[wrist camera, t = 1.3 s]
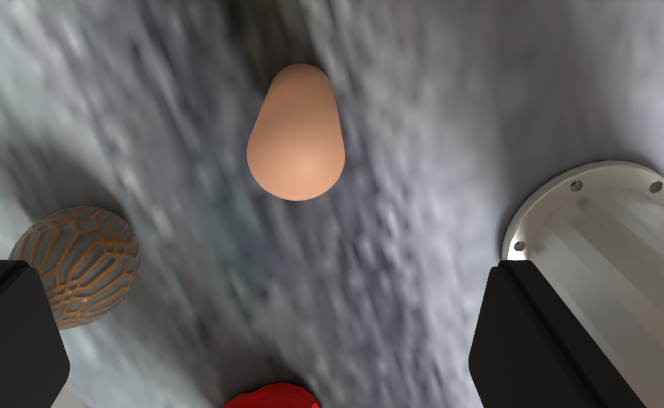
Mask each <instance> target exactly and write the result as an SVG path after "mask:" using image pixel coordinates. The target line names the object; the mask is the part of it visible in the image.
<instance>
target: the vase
mask: <svg viewBox="0 0 664 408" xmlns="http://www.w3.org/2000/svg"><path fill="white" fill-rule="evenodd" d="M8 260H23V261H26V262H27V263H28V264H29V265H30V267H33V268H35V269H36V270H37V271H38V273H39V275H40V278H41V281H42V284H43V287H44V290H45V293H46V296H47V298H48V301H49V304H50V307H51V310H52V313H53V316H54V319H55V322H56V324H57V327H58V330H64V329H69V328H74V327H78V326H82V325H86V324H88V323H91V322H93V321H95V320H97V319H99V318H101V317H102V316H104V315H105V314H107V313H108V312H109V311H111V310H112V309H113V308H114V307H115V306H116V305H118V304H119V303H120V302H121V300H122V299H123V298H124V297H125V296H126V294H127V293H128V291H129V290H130V288H131V286H132V284H133V282H134V280H135V278H136V276H137V273H138V269H139V264H140V248H139V243H138V240H137V237H136V235H135V233H134V232H133V230H132V229H131V227H130V226H129V225H128V224H127V223H126V222H125V221H124V220H123V219H122V218H121V217H119V216H118V215H116V214H114V213H112V212H110V211H108V210H105V209H102V208H98V207H93V206H76V207H70V208H65V209H62V210H59V211H56V212H54V213H52V214H50V215H47V216H46V217H44V218H42V219H41V220H40V221H38V222H37V223H35V224H34V225H33V226H32V227H31V228H29V229H28V230H27V231H26V232H25V233H24V234H23V235H22V236H21V238H20V239H19V240H18V242H17V243H16V244H15V246H14V248H13V250H12V252H11V254H10V256H9V258H8Z"/></svg>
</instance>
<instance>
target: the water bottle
mask: <svg viewBox="0 0 664 408" xmlns="http://www.w3.org/2000/svg"><path fill="white" fill-rule="evenodd" d="M223 408H320V406H319V404H318V403H317V401H316V399H315V397H314V396H313V395H311V394H310V393H309V392H307V391H306V390H305V389H303V388H302V387H299V386H295V385H292V384H289V383H277V384H271V385H266V386H264V387H262V388H260V389H258V390H256V391H254V392H250V393H245V394H239V395H238V396H236V397H235V398H233V399H232V400H230V401H229V402H227V403H226V404H224V405H223Z"/></svg>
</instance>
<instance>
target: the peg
mask: <svg viewBox="0 0 664 408" xmlns="http://www.w3.org/2000/svg"><path fill="white" fill-rule="evenodd" d="M247 161H248V165H249V169H250V171H251V173H252V175H253V177H254V178H255V180H256V181H257V182H258V184H259V185H260V186H261V187H262V188H264V189H265V190H266V191H268V192H269V193H271V194H273V195H275V196H277V197H280V198H283V199H287V200H307V199H311V198H314V197H317V196H319V195H321V194H323V193H324V192H326V191H327V190H328V189H330V188H331V187H332V186H333V185H334V184H335V182H336V181H337V180H338V178H339V176H340V175H341V172H342V170H343V166H344V161H345V150H344V144H343V139H342V133H341V128H340V123H339V117H338V112H337V106H336V101H335V96H334V90H333V87H332V84H331V82H330V80H329V78H328V77H327V76H326V74H325V73H324V72H323V71H321V70H320V69H319V68H317V67H315V66H312V65H309V64H304V63H297V64H292V65H289V66H287V67H285V68H283V69H282V70H280V71H279V72H278V73H277V74H276V76H275V77H274V78H273V80H272V82H271V85H270V87H269V90H268V92H267V95H266V97H265V100H264V103H263V105H262V108H261V110H260V113H259V115H258V118H257V121H256V123H255V126H254V128H253V131H252V133H251V136H250V139H249V142H248V146H247Z"/></svg>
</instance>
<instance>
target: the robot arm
mask: <svg viewBox="0 0 664 408" xmlns="http://www.w3.org/2000/svg"><path fill="white" fill-rule="evenodd" d="M469 371H470V374H471V377H472V379H473V382H474V384H475V387H476V389H477V392H478V394H479V397H480V399H481V402H482V404H483V407H484V408H664V177H663V176H661V175H660V174H658V173H657V172H655V171H653V170H651V169H649V168H647V167H645V166H643V165H641V164H637V163H632V162H628V161H601V162H595V163H589V164H586V165H583V166H580V167H577V168H574V169H571V170H569V171H567V172H565V173H563V174H561V175H559V176H557V177H555V178H553V179H552V180H550V181H549V182H547V183H546V184H544V185H543V186H542V187H540V188H539V189H538V190H537V191H536V192H534V193H533V194H532V195H531V196H530V197H529V198H528V199H527V200H526V201H525V202H524V203H523V205H522V206H521V207H520V209H519V210H518V211H517V213H516V214H515V215H514V217H513V219H512V221H511V223H510V225H509V227H508V228H507V231H506V235H505V238H504V241H503V248H502V261H500V262H499V264H498V267H492V268H491V270H490V273H489V277H488V281H487V285H486V289H485V293H484V297H483V301H482V305H481V309H480V313H479V317H478V321H477V326H476V330H475V334H474V338H473V342H472V346H471V350H470V354H469ZM69 372H70V363H69V359H68V356H67V353H66V350H65V348H64V345H63V342H62V339H61V336H60V333H59V330H58V327H57V324H56V322H55V319H54V316H53V313H52V310H51V307H50V304H49V301H48V298H47V296H46V293H45V290H44V287H43V284H42V281H41V278H40V275H39V273H38V271H37V270H36V269H35V268H33V267H30V265H29V264H28V263H27V262H26V261H23V260H0V408H51V406H52V404H53V403H54V401H55V399H56V398H57V396H58V394H59V393H60V391H61V389H62V387H63V386H64V384H65V383H66V381H67V379H68V376H69Z"/></svg>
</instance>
